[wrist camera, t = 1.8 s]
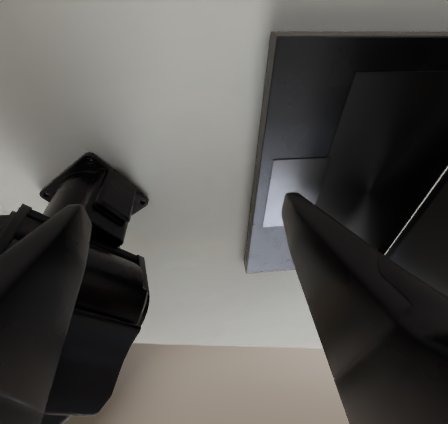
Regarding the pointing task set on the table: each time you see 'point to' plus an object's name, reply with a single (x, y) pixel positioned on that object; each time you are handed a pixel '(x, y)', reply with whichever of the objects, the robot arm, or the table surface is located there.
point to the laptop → (348, 134)
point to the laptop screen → (426, 240)
